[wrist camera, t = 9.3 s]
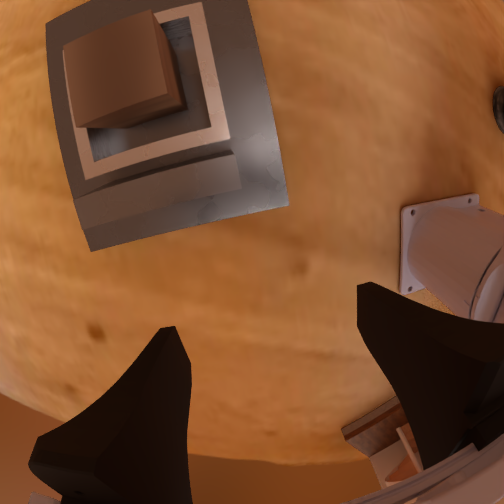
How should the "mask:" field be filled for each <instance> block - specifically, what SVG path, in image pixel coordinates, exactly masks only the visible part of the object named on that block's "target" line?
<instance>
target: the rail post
mask: <svg viewBox="0 0 504 504" xmlns="http://www.w3.org/2000/svg"><path fill="white" fill-rule="evenodd" d="M63 49H64V58H65V67H66V74H67V81H68V88H69V94H70V100H71V105H72V110H73V116H74V121H75V125H76V128H119V129H128V128H131V127H134V126H136V125H139V124H142V123H145V122H148V121H152V120H155V119H158V118H161V117H164V116H168V115H171V114H175V113H178V112H182V111H185V110H188V106H187V102H186V98H185V93H184V89H183V84H182V80H181V75H180V71H179V66H178V61H177V57H176V52H175V50H174V49H173V47H172V45H171V43H170V42H169V40H168V38H167V36H166V35H165V33H164V31H163V29H162V28H161V26H160V24H159V22H158V21H157V19H156V17H155V16H154V14H153V12H152V10H151V9H150V10H147V11H144V12H141V13H138V14H135V15H132V16H129V17H126V18H124V19H121V20H119V21H116V22H114V23H111V24H109V25H106V26H104V27H102V28H99V29H97V30H95V31H93V32H90V33H88V34H86V35H84V36H82V37H80V38H78V39H76V40H74V41H72V42H70V43H68V44H66V45H64V46H63Z"/></svg>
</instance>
